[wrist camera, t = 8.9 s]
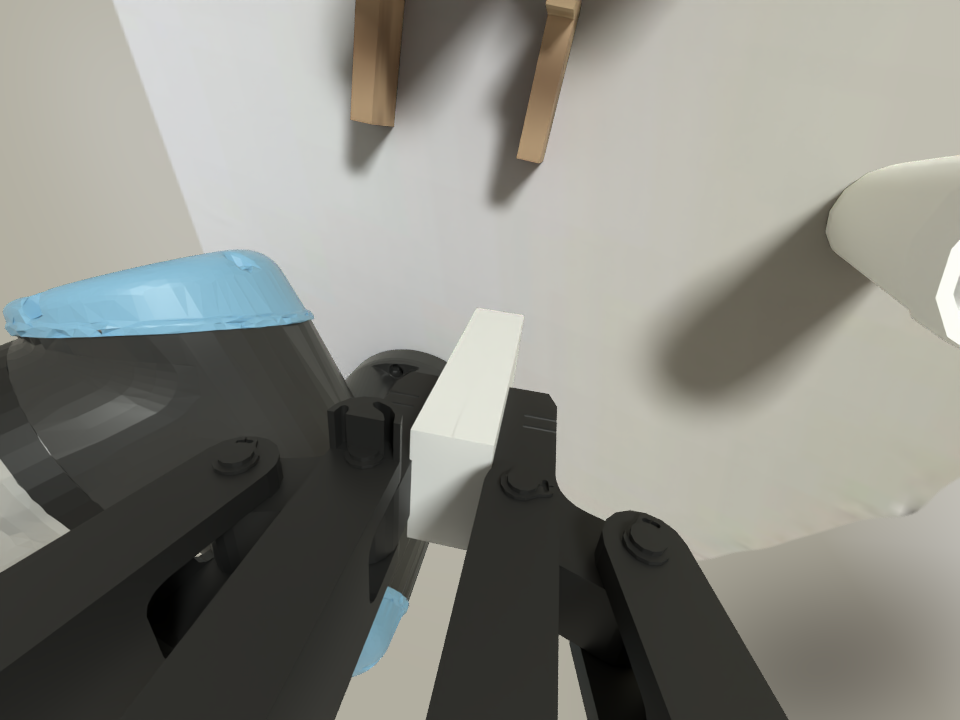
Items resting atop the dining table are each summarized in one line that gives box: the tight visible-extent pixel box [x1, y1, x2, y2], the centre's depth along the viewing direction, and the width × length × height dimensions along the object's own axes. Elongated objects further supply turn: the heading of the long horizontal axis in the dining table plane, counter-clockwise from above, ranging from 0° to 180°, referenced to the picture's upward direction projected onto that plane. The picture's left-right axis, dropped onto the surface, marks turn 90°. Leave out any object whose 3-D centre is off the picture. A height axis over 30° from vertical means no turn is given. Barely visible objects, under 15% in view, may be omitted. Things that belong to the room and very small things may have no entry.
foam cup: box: [825, 155, 960, 349], centre depth 23 cm, size 10×9×13 cm
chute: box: [350, 0, 581, 163], centre depth 27 cm, size 9×13×6 cm
